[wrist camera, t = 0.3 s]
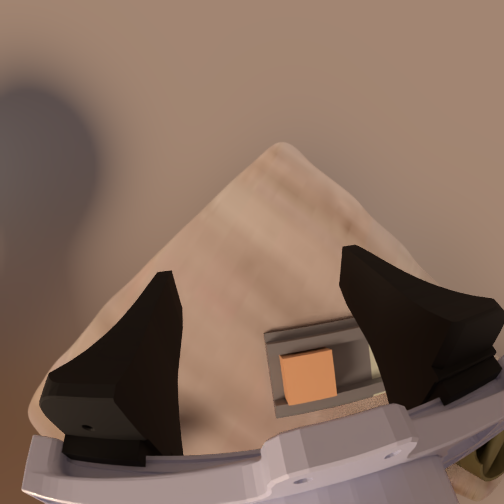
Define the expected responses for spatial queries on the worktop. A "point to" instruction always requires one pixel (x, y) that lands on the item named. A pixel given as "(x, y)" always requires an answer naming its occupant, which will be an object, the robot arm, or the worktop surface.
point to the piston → (486, 459)
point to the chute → (344, 359)
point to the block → (308, 375)
